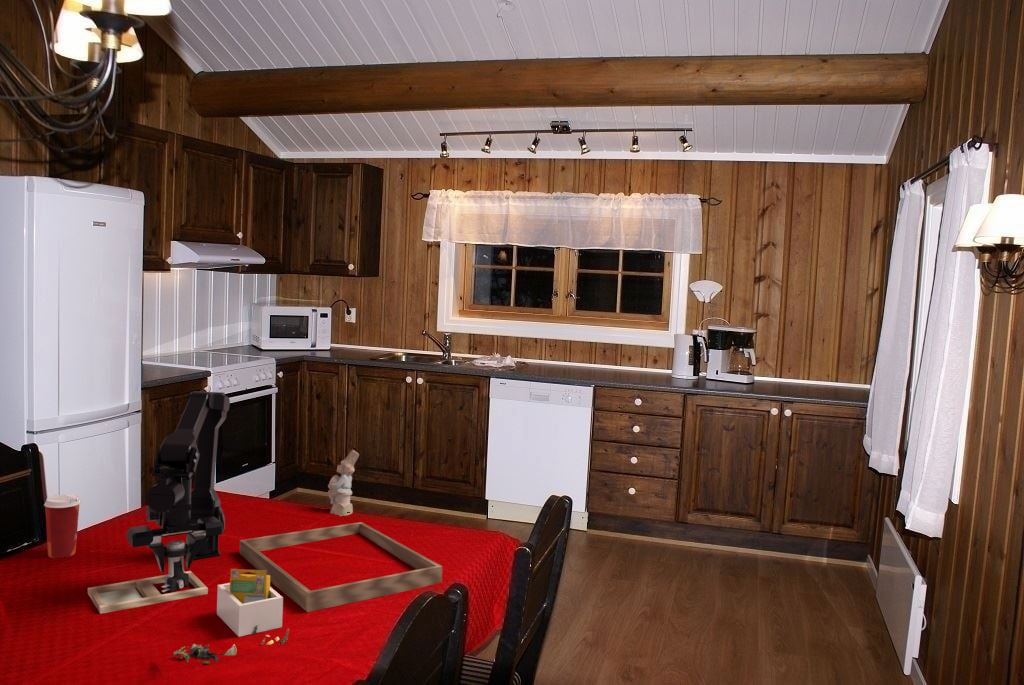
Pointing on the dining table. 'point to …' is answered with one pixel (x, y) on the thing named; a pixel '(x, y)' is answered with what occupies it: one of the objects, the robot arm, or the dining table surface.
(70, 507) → the paper cup
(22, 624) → the dining table surface
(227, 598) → the crayon stand
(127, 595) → the wooden double frame
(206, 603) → the dining table surface
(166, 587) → the push button
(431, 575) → the tray rim
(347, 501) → the figurine
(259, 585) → the crayon box
